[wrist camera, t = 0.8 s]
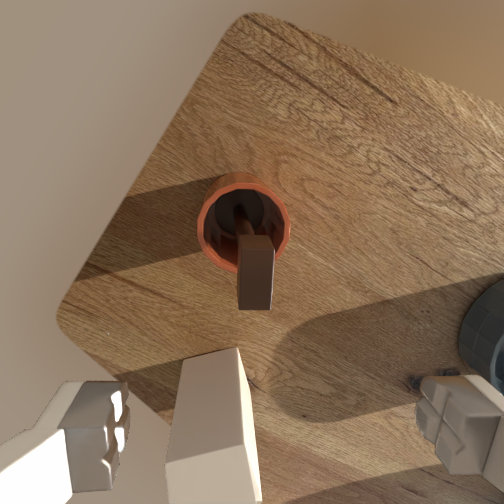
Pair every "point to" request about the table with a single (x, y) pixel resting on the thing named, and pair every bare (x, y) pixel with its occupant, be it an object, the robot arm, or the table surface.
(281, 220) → the crock
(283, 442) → the table surface
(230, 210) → the brown wooden masher
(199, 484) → the milk carton
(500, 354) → the bowl
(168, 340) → the table surface
